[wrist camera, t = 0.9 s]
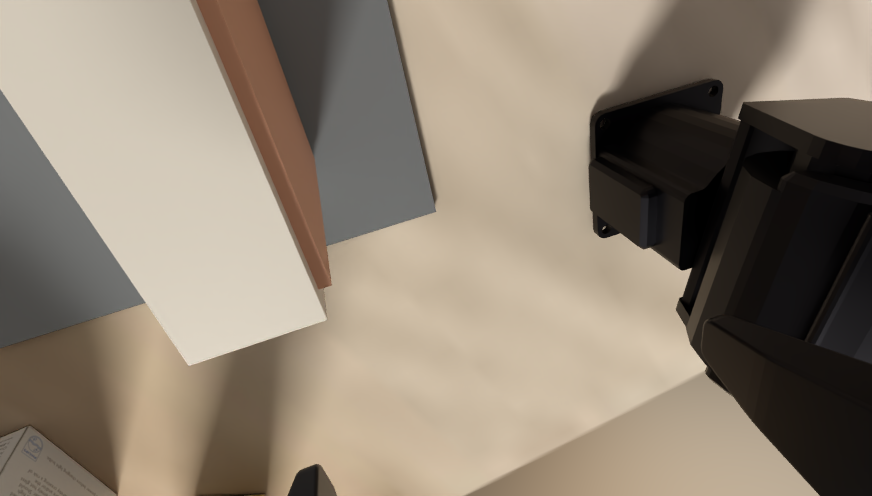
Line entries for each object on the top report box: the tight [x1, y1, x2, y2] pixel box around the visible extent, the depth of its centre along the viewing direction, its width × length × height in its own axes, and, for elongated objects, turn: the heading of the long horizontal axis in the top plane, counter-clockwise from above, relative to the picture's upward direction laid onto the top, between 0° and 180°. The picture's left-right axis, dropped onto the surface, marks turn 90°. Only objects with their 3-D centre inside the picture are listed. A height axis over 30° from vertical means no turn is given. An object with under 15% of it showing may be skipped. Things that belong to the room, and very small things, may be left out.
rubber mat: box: [0, 0, 436, 348], centre depth 17 cm, size 19×14×1 cm
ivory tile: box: [0, 0, 332, 366], centre depth 13 cm, size 3×7×10 cm, turn 11°
